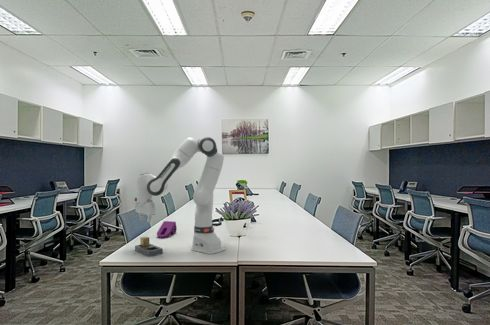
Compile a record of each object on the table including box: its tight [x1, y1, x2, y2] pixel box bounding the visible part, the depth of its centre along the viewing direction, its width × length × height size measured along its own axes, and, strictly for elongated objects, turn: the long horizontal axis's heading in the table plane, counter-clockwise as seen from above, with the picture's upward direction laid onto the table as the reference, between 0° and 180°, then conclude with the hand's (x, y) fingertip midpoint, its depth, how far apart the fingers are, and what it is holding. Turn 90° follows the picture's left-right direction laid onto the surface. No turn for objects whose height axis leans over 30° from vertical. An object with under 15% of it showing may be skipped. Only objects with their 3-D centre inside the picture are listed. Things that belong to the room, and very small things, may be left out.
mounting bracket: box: [156, 220, 178, 239], centre depth 232 cm, size 10×8×18 cm
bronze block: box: [139, 236, 150, 247], centre depth 192 cm, size 4×4×8 cm
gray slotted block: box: [134, 242, 164, 257], centre depth 189 cm, size 18×9×3 cm, turn 45°
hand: (145, 221), depth 193 cm, fingers open, 8 cm apart
